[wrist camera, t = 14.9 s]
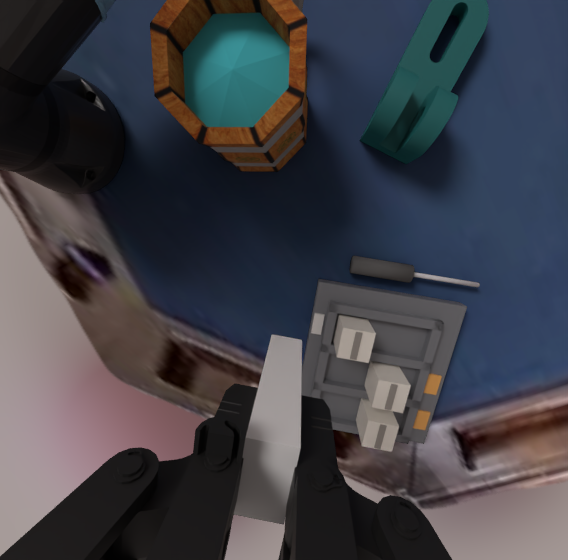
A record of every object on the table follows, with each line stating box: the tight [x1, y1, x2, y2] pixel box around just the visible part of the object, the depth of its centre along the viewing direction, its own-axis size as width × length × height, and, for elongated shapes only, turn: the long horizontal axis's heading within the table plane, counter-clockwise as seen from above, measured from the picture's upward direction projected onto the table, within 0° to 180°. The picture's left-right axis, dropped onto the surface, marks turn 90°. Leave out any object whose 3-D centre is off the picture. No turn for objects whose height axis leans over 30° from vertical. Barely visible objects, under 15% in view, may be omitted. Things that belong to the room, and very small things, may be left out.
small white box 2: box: [356, 398, 399, 452], centre depth 40 cm, size 4×4×5 cm
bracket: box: [360, 0, 489, 164], centre depth 31 cm, size 18×7×8 cm, turn 154°
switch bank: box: [301, 279, 467, 444], centre depth 42 cm, size 20×22×3 cm
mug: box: [150, 0, 308, 172], centre depth 29 cm, size 20×14×15 cm
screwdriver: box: [350, 256, 480, 287], centre depth 39 cm, size 17×2×2 cm, turn 81°
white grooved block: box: [365, 361, 411, 413], centre depth 39 cm, size 4×4×5 cm
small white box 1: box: [333, 314, 376, 363], centre depth 38 cm, size 4×4×5 cm
